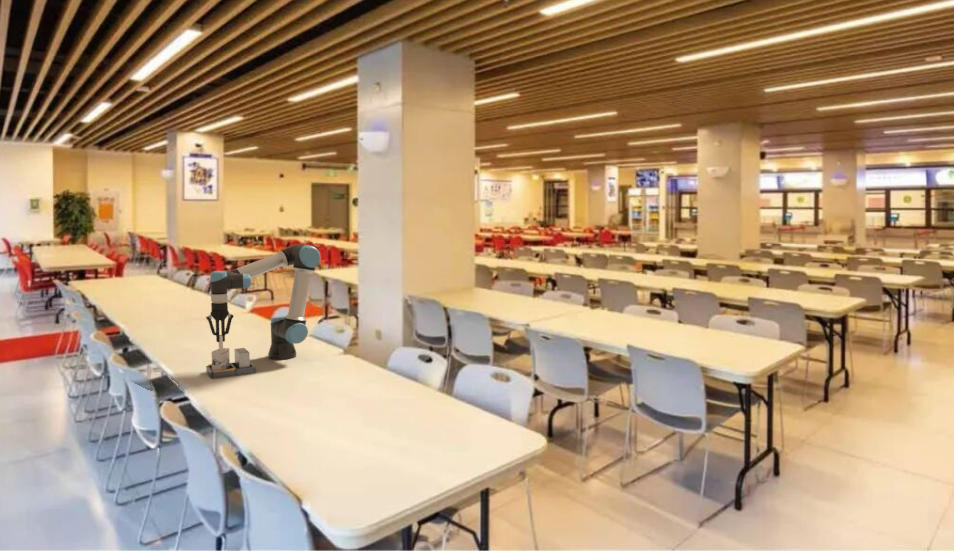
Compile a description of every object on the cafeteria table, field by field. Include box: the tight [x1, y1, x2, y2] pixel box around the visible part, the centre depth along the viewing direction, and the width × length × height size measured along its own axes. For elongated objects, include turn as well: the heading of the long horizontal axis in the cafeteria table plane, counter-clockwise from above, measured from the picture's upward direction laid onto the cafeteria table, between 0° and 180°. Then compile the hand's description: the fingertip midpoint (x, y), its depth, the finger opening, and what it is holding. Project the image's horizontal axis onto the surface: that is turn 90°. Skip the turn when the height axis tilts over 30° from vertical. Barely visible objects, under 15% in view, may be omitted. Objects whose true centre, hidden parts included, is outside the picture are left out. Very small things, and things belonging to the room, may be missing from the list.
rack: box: [206, 347, 257, 380], centre depth 307 cm, size 21×15×11 cm
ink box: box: [211, 347, 231, 371], centre depth 304 cm, size 9×5×12 cm, turn 170°
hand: (220, 348), depth 303 cm, fingers closed
